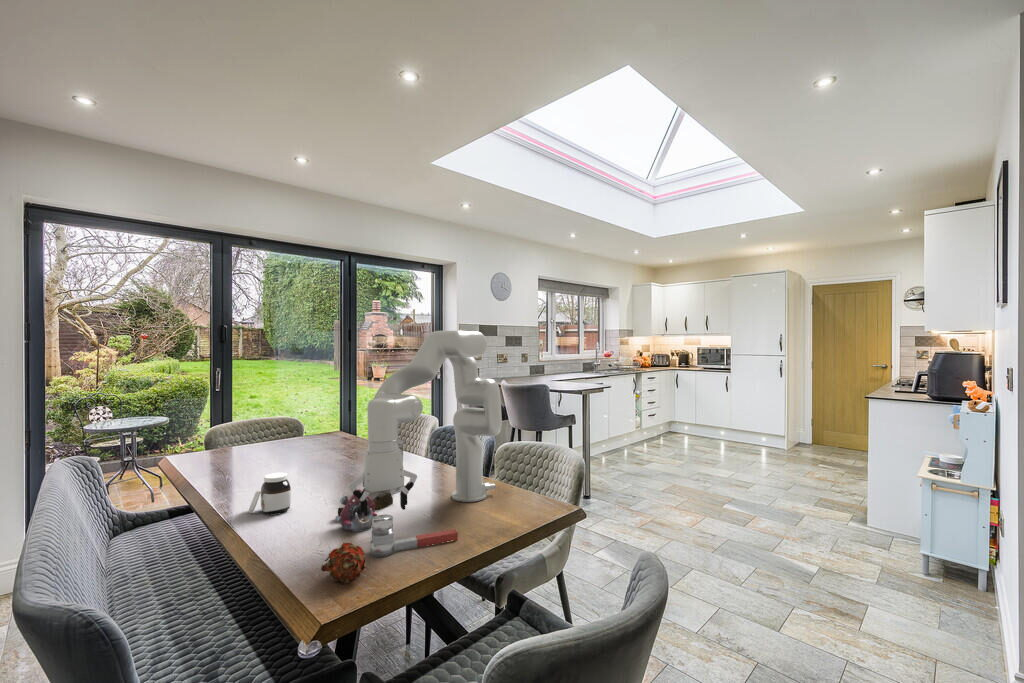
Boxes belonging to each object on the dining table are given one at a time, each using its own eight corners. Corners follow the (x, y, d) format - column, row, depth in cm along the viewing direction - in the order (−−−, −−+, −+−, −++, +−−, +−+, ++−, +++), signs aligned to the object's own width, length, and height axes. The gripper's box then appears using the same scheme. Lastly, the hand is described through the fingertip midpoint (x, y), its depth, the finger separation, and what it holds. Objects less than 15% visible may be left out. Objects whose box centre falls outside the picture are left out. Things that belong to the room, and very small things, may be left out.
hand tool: (342, 522, 137) (342, 507, 137) (336, 519, 140) (337, 504, 140) (397, 507, 151) (397, 493, 151) (390, 504, 154) (390, 490, 154)
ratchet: (453, 534, 128) (453, 516, 128) (459, 542, 123) (459, 524, 123) (368, 549, 118) (368, 530, 119) (371, 559, 113) (371, 539, 113)
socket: (391, 535, 120) (391, 513, 121) (394, 543, 116) (394, 519, 116) (370, 539, 118) (370, 516, 118) (373, 547, 114) (373, 523, 114)
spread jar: (294, 511, 146) (294, 475, 146) (255, 521, 138) (256, 483, 138) (280, 503, 154) (280, 469, 154) (243, 511, 146) (243, 475, 146)
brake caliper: (353, 530, 125) (339, 490, 130) (336, 545, 131) (324, 506, 135) (388, 518, 134) (374, 481, 139) (371, 533, 139) (358, 497, 144)
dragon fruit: (355, 598, 98) (332, 586, 107) (382, 563, 104) (358, 554, 112) (330, 573, 96) (308, 562, 104) (359, 539, 101) (336, 531, 109)
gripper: (413, 439, 125) (414, 500, 125) (346, 446, 117) (348, 511, 118) (419, 445, 118) (420, 510, 118) (349, 453, 111) (350, 522, 111)
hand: (384, 511), depth 118 cm, fingers open, 9 cm apart
